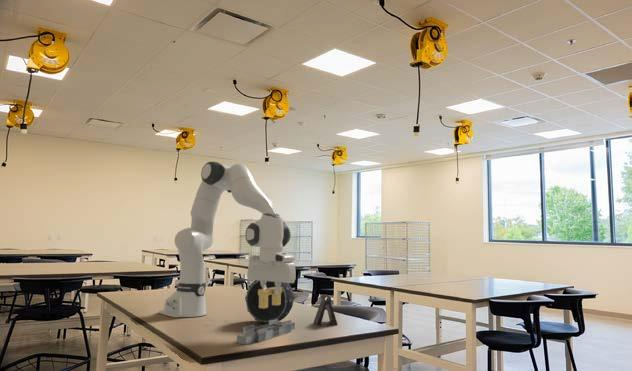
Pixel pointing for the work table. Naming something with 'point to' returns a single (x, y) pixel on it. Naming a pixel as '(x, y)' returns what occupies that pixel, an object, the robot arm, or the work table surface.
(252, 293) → the dark grey short cylinder
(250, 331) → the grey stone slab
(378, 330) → the work table surface
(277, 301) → the tan notched block
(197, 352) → the work table surface
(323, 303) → the brown a-shaped stand
